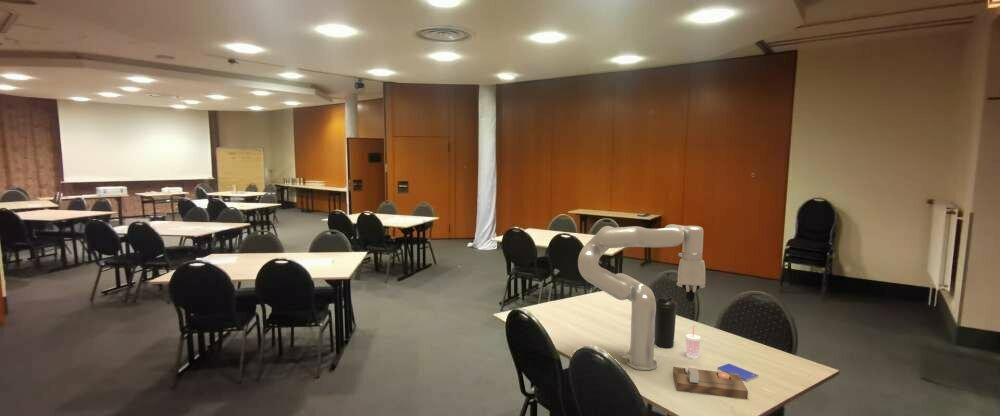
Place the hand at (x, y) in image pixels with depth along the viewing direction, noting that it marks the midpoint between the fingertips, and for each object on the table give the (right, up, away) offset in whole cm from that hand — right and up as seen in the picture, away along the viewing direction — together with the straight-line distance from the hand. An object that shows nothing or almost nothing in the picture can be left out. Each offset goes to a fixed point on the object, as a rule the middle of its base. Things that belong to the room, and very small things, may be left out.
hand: (690, 300), depth 187 cm
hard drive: (+19, -30, -1) cm, 36 cm away
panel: (+2, -30, -11) cm, 32 cm away
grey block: (-4, -27, -13) cm, 31 cm away
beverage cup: (+7, -28, +15) cm, 33 cm away
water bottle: (-1, -27, +28) cm, 39 cm away
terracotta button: (+9, -30, -9) cm, 32 cm away
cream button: (-2, -28, -6) cm, 29 cm away
